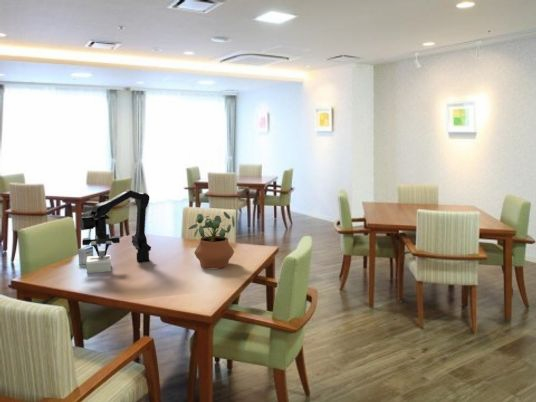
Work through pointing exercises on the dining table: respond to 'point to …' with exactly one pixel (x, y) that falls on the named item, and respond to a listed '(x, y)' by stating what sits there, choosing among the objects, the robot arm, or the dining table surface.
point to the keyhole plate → (98, 264)
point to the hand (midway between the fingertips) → (101, 256)
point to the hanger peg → (101, 253)
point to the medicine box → (84, 254)
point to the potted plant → (213, 243)
